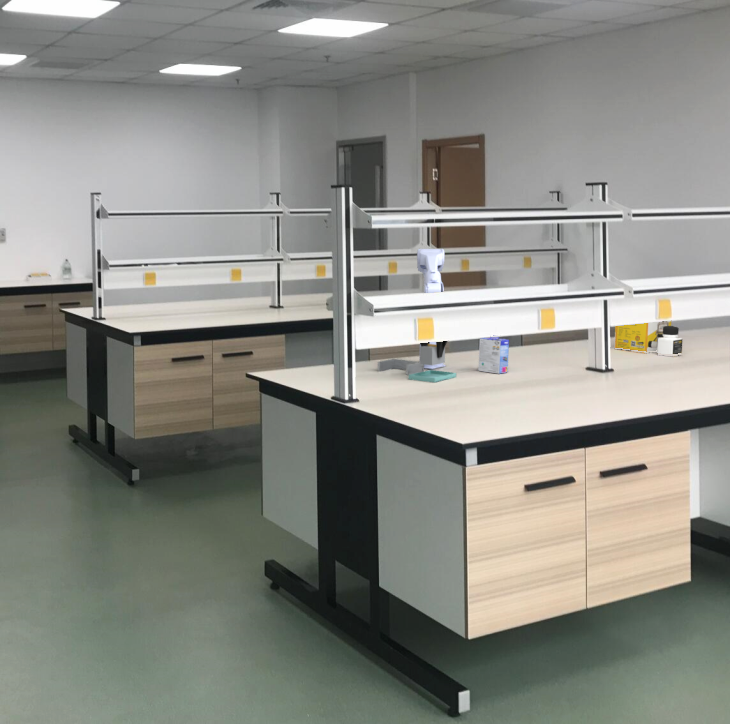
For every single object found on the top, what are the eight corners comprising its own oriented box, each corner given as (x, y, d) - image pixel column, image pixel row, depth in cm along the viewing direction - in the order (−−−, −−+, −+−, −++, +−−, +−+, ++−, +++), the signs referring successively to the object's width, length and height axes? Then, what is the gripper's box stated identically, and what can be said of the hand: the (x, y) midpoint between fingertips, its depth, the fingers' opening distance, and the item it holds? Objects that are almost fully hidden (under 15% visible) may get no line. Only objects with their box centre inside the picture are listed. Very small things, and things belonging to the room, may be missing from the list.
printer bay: (393, 367, 360) (393, 358, 360) (423, 371, 352) (423, 362, 352) (377, 371, 353) (377, 361, 352) (408, 375, 344) (408, 365, 344)
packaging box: (637, 346, 421) (640, 288, 417) (669, 350, 408) (673, 291, 405) (614, 349, 411) (616, 290, 407) (646, 353, 398) (649, 293, 395)
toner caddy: (432, 361, 342) (433, 342, 341) (444, 362, 339) (445, 343, 338) (420, 363, 336) (420, 345, 335) (432, 365, 333) (432, 346, 332)
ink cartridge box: (509, 372, 351) (510, 332, 348) (499, 374, 347) (500, 334, 344) (487, 369, 357) (488, 330, 355) (477, 371, 354) (478, 331, 351)
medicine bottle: (672, 357, 389) (674, 327, 387) (656, 355, 394) (658, 326, 392) (681, 355, 393) (683, 326, 392) (666, 353, 399) (667, 324, 397)
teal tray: (430, 374, 347) (430, 369, 347) (456, 377, 341) (456, 372, 340) (408, 379, 336) (408, 374, 336) (434, 382, 330) (434, 378, 329)
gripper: (409, 317, 336) (409, 355, 338) (444, 320, 328) (444, 359, 330) (420, 315, 342) (420, 353, 344) (455, 318, 333) (455, 357, 335)
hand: (432, 356), depth 337 cm, fingers closed on toner caddy, 5 cm apart
